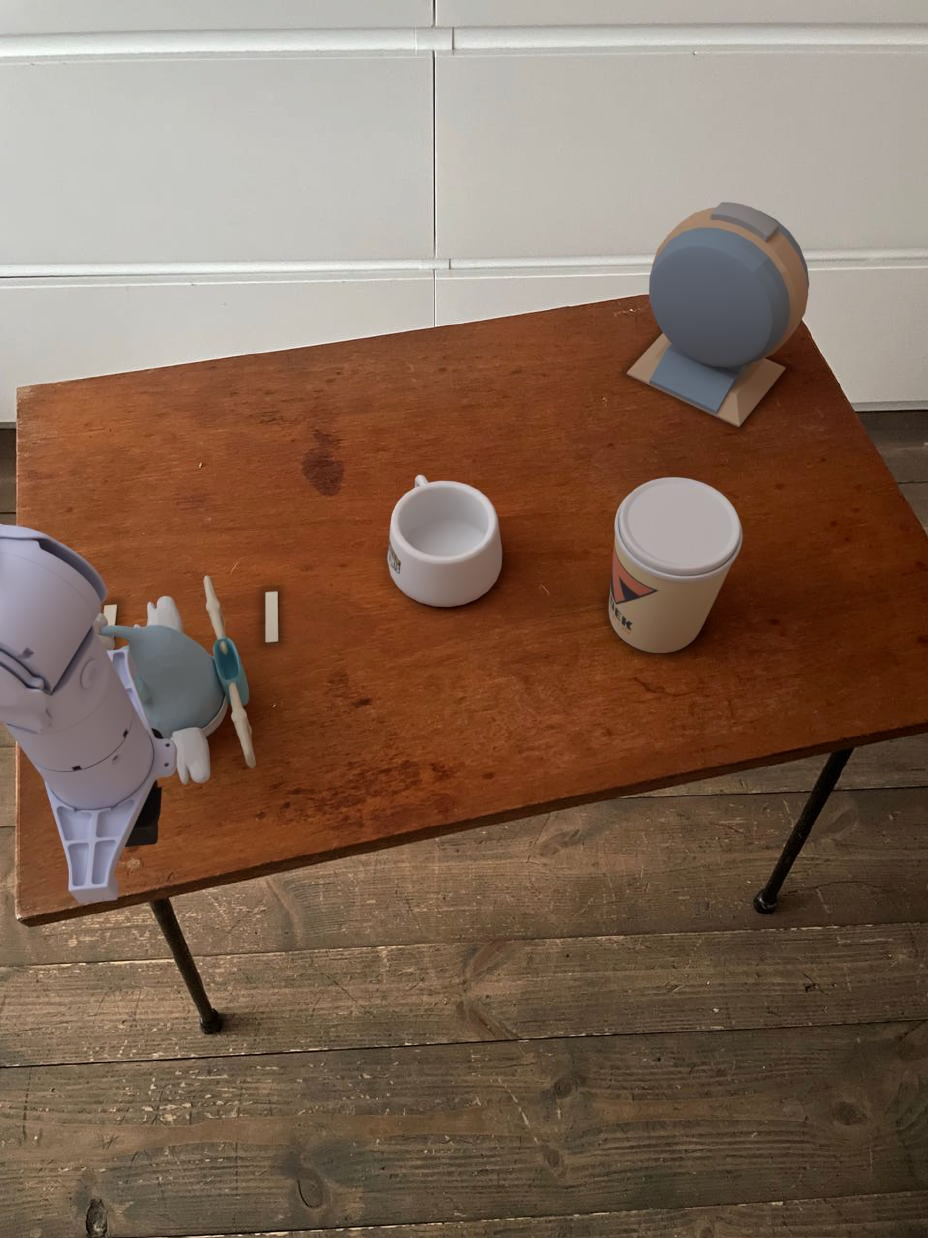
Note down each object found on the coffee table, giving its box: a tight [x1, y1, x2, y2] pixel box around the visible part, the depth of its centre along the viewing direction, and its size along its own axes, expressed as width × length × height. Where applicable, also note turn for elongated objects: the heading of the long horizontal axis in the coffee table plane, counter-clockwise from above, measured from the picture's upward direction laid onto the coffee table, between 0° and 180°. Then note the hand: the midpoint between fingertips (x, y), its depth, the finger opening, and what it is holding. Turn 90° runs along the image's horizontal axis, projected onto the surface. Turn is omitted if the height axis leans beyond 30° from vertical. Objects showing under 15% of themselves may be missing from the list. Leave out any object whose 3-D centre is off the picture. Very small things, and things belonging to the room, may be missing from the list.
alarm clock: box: [626, 201, 810, 428], centre depth 97 cm, size 14×10×18 cm
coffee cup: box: [608, 476, 743, 654], centre depth 82 cm, size 9×9×12 cm
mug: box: [387, 474, 503, 608], centre depth 88 cm, size 12×10×6 cm
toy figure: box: [93, 574, 257, 786], centre depth 75 cm, size 17×10×15 cm, turn 18°
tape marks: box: [103, 591, 279, 644], centre depth 87 cm, size 14×5×1 cm, turn 96°
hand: (141, 829), depth 65 cm, fingers closed
